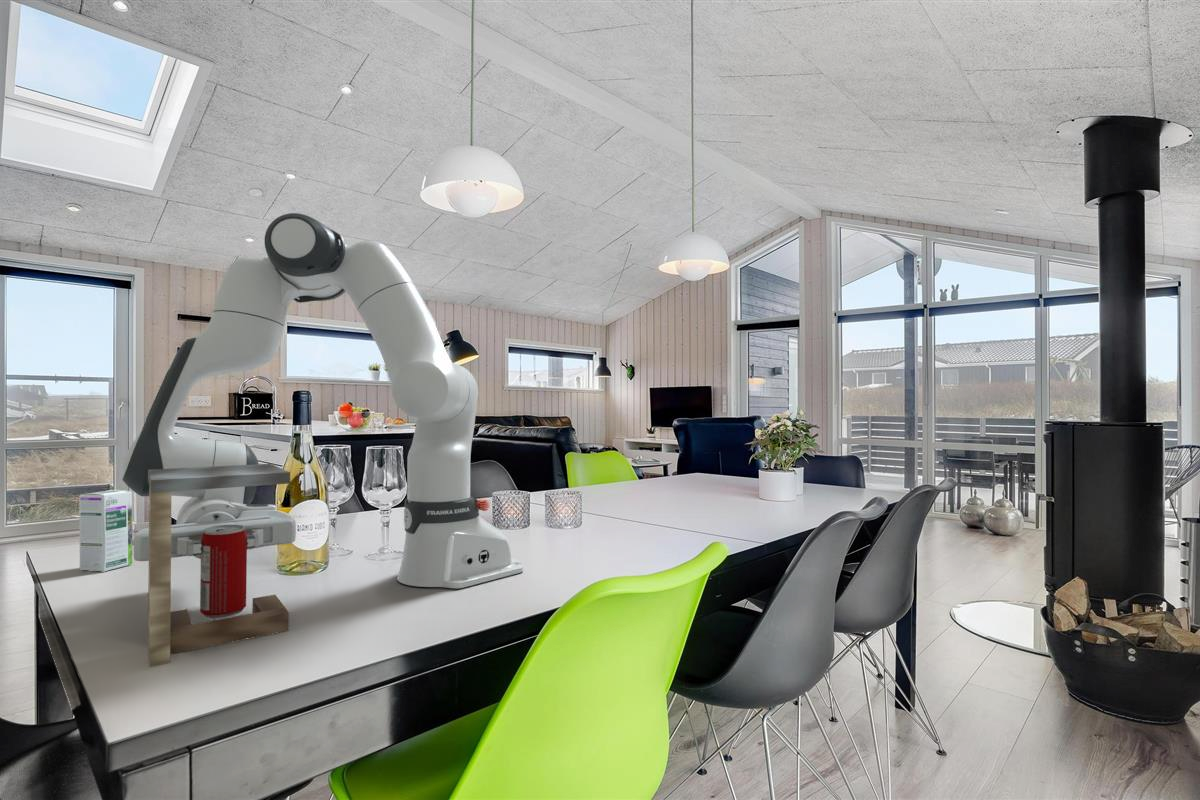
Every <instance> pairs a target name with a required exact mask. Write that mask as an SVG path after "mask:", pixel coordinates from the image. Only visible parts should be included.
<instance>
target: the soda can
mask: <svg viewBox="0 0 1200 800" xmlns="http://www.w3.org/2000/svg"><path fill="white" fill-rule="evenodd" d="M201 545H202V547H201V559H200V586H199V587H200V588H199V589H200V595H199V597H200V600H199V602H200V604H199V612H200V614H202V615H203V616H204V617H205V618H207V619H208V618H209V619H223V618H229V617H233V616H236V615H237V614H240V613H241V612H242V611H243V610H244V609H246V607H247V573H248V572H247V571H248V569H247V563H248V562H247V561H248V559H247V558H248V557H247V556H248V554H247V553H248V551H247V537H246V533H245V529H244V526H243V525H234V524H231V525H218V526H213V527H209V528H206V529H204V533H203V537H202V540H201Z"/></svg>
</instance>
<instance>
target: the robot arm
mask: <svg viewBox="0 0 1200 800" xmlns="http://www.w3.org/2000/svg"><path fill="white" fill-rule="evenodd" d="M264 234H265V235H264V242H263V243H264V250H265V252H266V255H267V257H264V258H263V257H262V258H261V257H256V256H255V257H254V256H248V257H246V256H245V257H240V258H237V259H235V260H234V261H232V263H230V264H229V266H228V267H227V269H226V272H225V274H224V276H223V278H222V280H221V283H220V286H219V288H218V292H217V295H216V298H215V301H214V304H213V309H212V314H211V317H210V320H209V322H208V324H207V325H206V328H204V330H203V331H202V332H201V333H200V334H199V335H197V336H196V337H191V338H188V339H186V340H185V341H184V342H183V343H182V344H181V346H180V347H179V348H178V350H177V352H176V354H175V355H174V357H173V360H172V362H171V365H170V366H169V368H168V370H167V372H166V374H165V376H164V378H163V380H162V382H161V385H160V386H159V389H158V392H157V393H156V396H155V397H154V400H153V402H152V405H151V407H150V409H149V411H148V413H147V416H146V418H145V422H144V424H143V426H142V429H141V430H140V432H139V433H138V434H137V436H136V437H135V439H134V440H133V442H132V443H131V444H130V447H129V448H128V450H127V451H126V454H125V456H124V458H123V462H122V466H121V475H122V482H123V483H124V484H125V485H126V486H127V487H128V488H129V489H130V490H132V492H134V493H136V495H138V496H140V497H149V482H148V470H154V469H174V468H194V467H214V466H235V465H255V464H259V460H258V458H257V456H256V454H255V453H254V451H253V450H252V448H251V447H250V446H249V445H248V444H246V443H242V442H237V441H235V442H234V441H228V440H218V439H206V438H199V437H198V438H196V437H190V436H182V435H178V434H176V433H175V432H174V428H175V425H176V423H177V420H178V418H179V416H180V413H181V412H182V409H183V407H184V404H185V402H186V400H187V397H188V396H189V393H190V391H191V389H192V388H193V387H194V386H195V385H196V384H197V383H199V381H202V380H203V379H206V378H209V377H213V376H218V375H224V374H231V373H232V374H233V373H239V372H245V371H251V370H254V369H257V368H259V367H262V366H264V365H266V364H267V363H269V362H270V361H271V360H273V358H274V357H275V356H276V355H277V353H278V351H279V349H280V345H281V342H282V340H283V335H284V331H285V324H286V320H287V319H286V318H287V313H288V310H289V306H290V304H291V303H292V301H293V300H294V301H295V302H297V303H300V304H301V303H308V302H310V303H311V302H322V301H323V302H324V301H325V302H326V301H330V300H335V299H337V298H340V297H341V296H342V295H343V294H344V293H347V295H348V297H350V299H351V301H352V302H353V304H354V306H355V308H356V310H357V312H358V314H359V315H360V317H361V318H362V320H363V322H364V324H365V326H366V328H367V329H368V331H369V333H370V334H371V336H372V338H373V340H374V342H375V344H376V346H377V347H378V351H380V355H381V357H382V360H383V363H384V365H385V368H386V372H387V375H388V377H389V381H390V383H391V390H392V391H391V392H392V397H393V400H394V403H395V404H396V406H397V408H399V410H400V411H401V412H402V413H404V414H405V415H407V416H409V417H410V418H412V419H414V420H416V422H415V423H416V424H415V427H414V433H413V437H412V443H411V445H410V448H409V450H408V454H407V462H406V463H407V464H406V465H407V466H406V467H407V468H406V470H407V471H406V472H407V475H406V476H407V478H406V480H407V481H406V483H407V485H406V486H407V487H406V488H407V489H406V494H407V495H406V499H404V508H403V509H404V510H403V526H404V532H405V539H404V547H403V553H402V559H401V562H400V567H399V571H398V574H397V576H396V577H397V578H396V580H397V581H398V582H399V583H401V584H403V585H405V586H406V585H407V586H410V587H411V586H412V587H421V588H422V587H423V588H445V589H446V588H447V589H463V588H466V587H471V586H475V585H478V584H482V583H486V582H490V581H494V580H496V579H501V578H505V577H508V576H509V577H510V576H513V575H516V574H519V573H523V572H524V565H523V563H522V562H521V561H519V560H518V559H516V558H514V557H513V556H512V551H511V547H510V542H509V539H508V538H507V536H506V535H505V534H504V533H503V532H501V531H500V530H498V529H497V528H496V527H494V526H493V524H491V523H489V522H488V521H486V520H485V519H484V518H482V517H481V516H480V511H483V512H487V511H488V510H489V509H490V505H491V504H490V502H489V501H488V500H487V499H485V498H484V499H483V498H480V499H477V498H475V497H473V496H471V459H472V458H471V454H472V443H473V437H474V431H475V425H476V423H475V422H476V415H477V405H478V404H477V402H478V399H479V393H480V392H479V386H478V383H477V381H476V379H475V377H474V376H473V374H472V373H471V372H470V371H469V369H467V368H466V367H464V366H462V365H460V364H458V363H454V362H453V361H452V359H451V358H450V357H449V355H448V353H447V351H446V349H445V346H444V344H443V342H442V339H441V337H440V334H439V331H438V327H437V322H436V320H435V319H434V317H433V315H432V313H431V311H430V310H429V308H428V306H427V304H426V302H425V301H424V299H423V298H422V296H421V294H420V291H419V290H418V289H417V286H416V285H415V283H414V281H413V279H412V278H411V277H410V275H409V273H408V272H407V271H406V269H405V267H404V266H403V265H402V264H401V262H400V261H399V260H398V258H397V257H396V256H395V254H394V253H393V252H392V251H391V250H390V248H388V247H387V246H386V245H385V244H383V243H382V242H380V241H377V240H363V241H360V242H356V243H354V244H346V243H345V239H344V237H343V236H342V235H341V234H340V233H338V232H337V231H335V230H334V229H331V228H330V227H328V226H326V225H325V224H324V223H322V222H321V221H319V220H318V219H316V218H313V217H311V216H309V215H307V214H303V213H299V212H297V213H296V212H293V213H291V212H290V213H286V214H283V215H280V216H278V217H276V218H275V219H274V220H273V221H271V223H270V224H269V225H268V227H267V229H266V231H265V233H264ZM257 489H258V486H246V487H231V488H217V489H202V490H187V491H173V492H171V497H172V496H174V497H184V498H185V497H187V498H188V500H187V501H186V502H184V504H183V505H182V506H181V507H180V509H179V511H178V512H177V513H178V514H177V517H176V524H171V559H175V558H180V557H181V558H182V557H187V556H188V557H194V558H196V559H200V560H201V547H202V545H201V540H202V537H203V533H204V529H206V528H209V527H213V526H218V525H231V524H234V525H243V526H244V529H245V533H246V537H247V550H253V549H258V548H263V547H270V546H279V545H280V546H281V545H287V544H292V543H294V542H295V541H296V535H297V533H296V532H297V526H296V525H297V523H296V520H295V518H294V517H293V516H292V515H291V514H289V513H287V512H285V511H281V510H277V509H278V508H277V506H276V505H275V504H266V503H264V504H263V503H262V504H261V503H260V504H255V503H252V502H253V500H254V499H255V496H256V492H257ZM131 545H132V547H133V560H134V561H135V562H137V561H138V562H149V527H145V528H142V529H140V530H138V531H137V532H136V533H135V534H134V536H132V538H131Z"/></svg>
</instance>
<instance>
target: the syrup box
mask: <svg viewBox="0 0 1200 800" xmlns="http://www.w3.org/2000/svg"><path fill="white" fill-rule="evenodd" d="M132 493H133V491H131V490H128V489H126V490H125V489H112V490H111V489H109V490H104V491H97V492H91V493H90V492H89V493H82V494H80V495H78V501H79V502H78V504H79V505H78V507H79V508H78V509H79V510H78V511H79V512H78V513H79V516H78V517H79V518H78V521H79V522H78V523H79V530H78V531H79V570H80V571H82V570H92V571H101V572H100V573H106V572H108V571H112V570H115V569H119V568H124V567H127V566H132V565H133V545H131V538H132V537H133V498H132V497H133V494H132ZM105 571H106V572H105Z"/></svg>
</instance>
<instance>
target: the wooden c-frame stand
mask: <svg viewBox="0 0 1200 800" xmlns="http://www.w3.org/2000/svg"><path fill="white" fill-rule="evenodd" d="M148 482H149V496H148V499H149V500H148V528H149V561H148V595H147V596H148V597H147V598H148V601H147V602H148V603H147V605H148V607H147V611H148V613H147V615H148V616H147V617H148V618H147V619H148V620H147V651H148V664H149V666H148V667H151V668H152V667H154V666H160V665H164V664H170V663H171V654H170V614H171V612H172V611H171V606H172V605H171V602H172V601H171V600H172V599H171V597H172V595H171V594H172V593H171V589H172V588H171V587H172V586H171V585H172V558H171V525H172V496H171V492H173V491H187V490H202V489H217V488H231V487H246V486H257V487H258V486H272V485H274V486H275V485H287V484H288V485H289V484H291V472H290V471H288V470H286V469H284V468H281V467H279V466H277V465H274V464H273V463H272V464H271V463H258V464H255V465H235V466H214V467H194V468H174V469H154V470H148Z"/></svg>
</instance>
